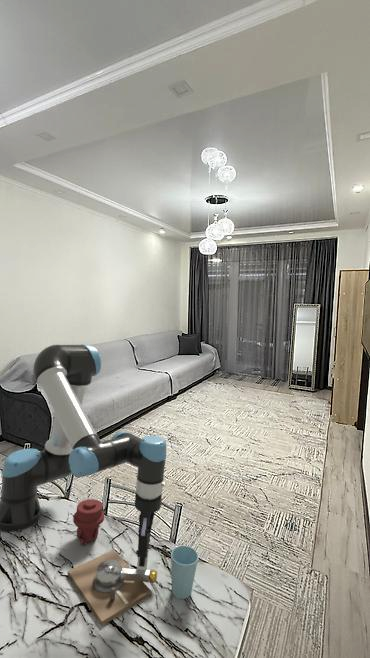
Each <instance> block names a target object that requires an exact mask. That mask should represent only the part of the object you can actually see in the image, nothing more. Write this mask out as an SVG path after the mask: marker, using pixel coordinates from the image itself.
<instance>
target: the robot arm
mask: <svg viewBox="0 0 370 658" xmlns="http://www.w3.org/2000/svg"><path fill="white" fill-rule="evenodd" d="M101 370H102V359H101V356H100V352H99V351H98V349H97V348H96V347H95V346H92V345H88V344H51V345H49V346H47V347H45V348H43V349H42V350H41V351H40V352H39V353H38V355H37V357H36V358H35V361H34V363H33V371H32V372H33V377H34V380H35V383H36V385H37V387H38V388H40V389H41V390H42V389H43V391H44V393H45V395H46V398H47V399H48V402H49V403H50V405H51V407H52V410H53V412H54V414H55V415H54V419H53V420H54V421H53V426H52V430H51V436H50V439H48V440H47V441H46V442H45V444H44V449H43V450H38V449H37V448H23V449H19V450H17V451H16V450H15V451H13V452H12V453H10V454H8V455H7V457H6V458H5V459H4V461H3V468H2V471H1V474H2V477H1V478H2V479H1V487H0V488H1V490H0V531H2V532H10V533H11V532H18V531H22V530H25V529H28V528H30V527H31V526H33V525H35V524H36V523H38V521H39V520H40V517H41V515H42V513H41V512H42V508H41V504H40V501H39V500H40V499H39V497H38V486H42V485H45V484H48V483H51V482H54V481H58V480H61V479H65V478H67V477H69V476H71V475H74V476H75V477H77V478H83V477H87V476H93V475H95V474H97V473H99V472H102V471H105V470H107V469H112V468H113V467H114V468H115V467H117V466H120V465H123V464H126V463H128V464H131V466H133V467H135V468H137V474H136V486H135V497H134V507H135V508H136V510H137V511H139V513H140V514H139V516H138V522H139V524H138V525H139V526H138V531H137V532H138V540H137V541H138V543H137V550H136V551H135V555H137V564H136V565H137V566H136V569H139V570H148V558H149V550H152V545H150V542H151V531H152V528H153V527H152V526H153V523H154V517H155V513H156V512H158V511H159V510H160V509H161V507H162V501H163V494H162V493H163V490H164V489H163V487H165V486H166V483H165V482H164V480H165V477H164V475H165V468H166V467H165V466H166V460H167V441H166V440H165V438H163V437H161V436H156V435H145V436H144V437H142V438H140V437H138V436H137V435H135V434H133V433H131V432H128V431H123V430H121V431H118V432H116V433H115V434H114V435H112V437H111V438H110V439H107V440H104V441H101V439H100V437H99V435H98V434H97V431H96V430H95V429H94V426H93V424H92V422H91V421H90V419H89V416H87V414H86V411H85V410H84V408H83V406H82V405H83V401H84V396H85V391H86V388H87V387H88V386H89V385H91V383H92V379H93V377H95V376H97V375H98V374H99V373H101Z"/></svg>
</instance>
